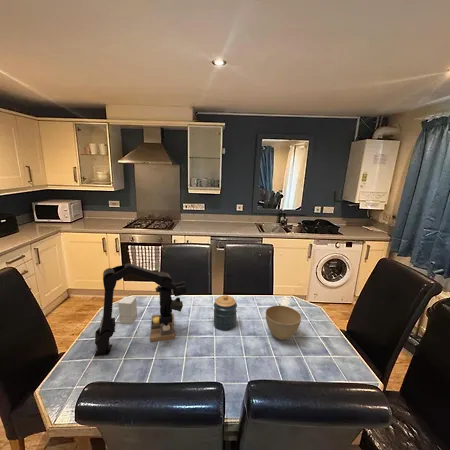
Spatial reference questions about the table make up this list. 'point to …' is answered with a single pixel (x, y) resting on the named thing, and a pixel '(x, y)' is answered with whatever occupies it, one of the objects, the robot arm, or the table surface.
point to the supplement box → (127, 310)
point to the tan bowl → (282, 321)
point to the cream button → (166, 328)
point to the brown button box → (161, 331)
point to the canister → (225, 313)
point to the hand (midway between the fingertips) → (166, 325)
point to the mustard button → (156, 321)
